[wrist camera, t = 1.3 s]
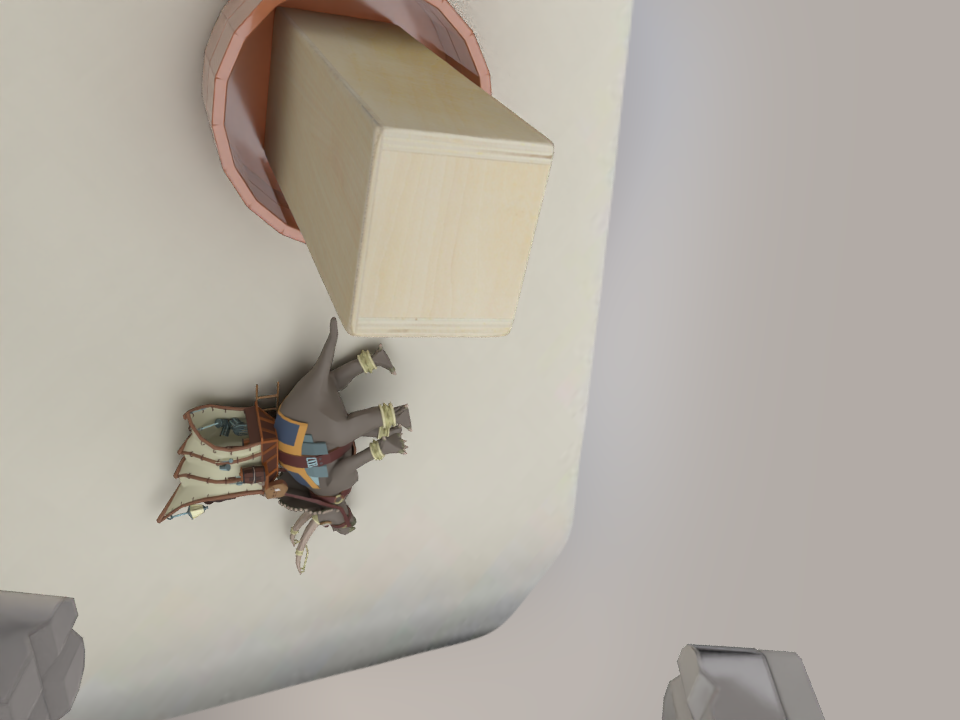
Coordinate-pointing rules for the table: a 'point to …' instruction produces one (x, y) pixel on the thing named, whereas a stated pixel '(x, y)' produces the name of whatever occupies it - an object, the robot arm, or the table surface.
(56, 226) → the table surface
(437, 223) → the toy refrigerator
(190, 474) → the figurine
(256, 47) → the pot
